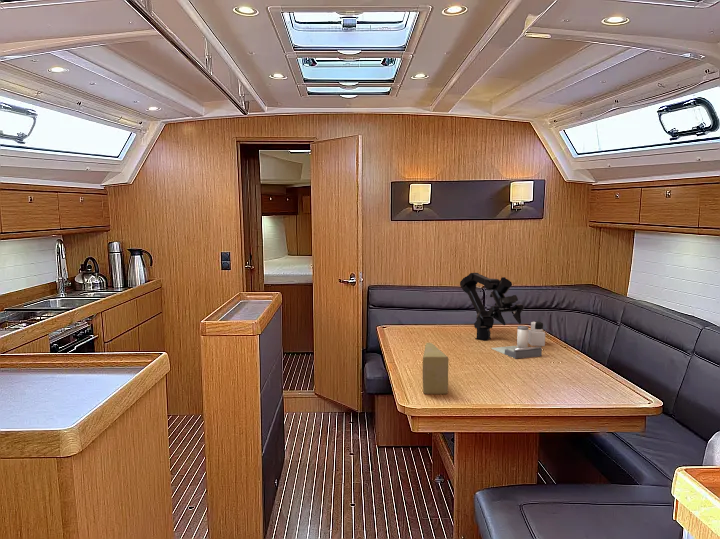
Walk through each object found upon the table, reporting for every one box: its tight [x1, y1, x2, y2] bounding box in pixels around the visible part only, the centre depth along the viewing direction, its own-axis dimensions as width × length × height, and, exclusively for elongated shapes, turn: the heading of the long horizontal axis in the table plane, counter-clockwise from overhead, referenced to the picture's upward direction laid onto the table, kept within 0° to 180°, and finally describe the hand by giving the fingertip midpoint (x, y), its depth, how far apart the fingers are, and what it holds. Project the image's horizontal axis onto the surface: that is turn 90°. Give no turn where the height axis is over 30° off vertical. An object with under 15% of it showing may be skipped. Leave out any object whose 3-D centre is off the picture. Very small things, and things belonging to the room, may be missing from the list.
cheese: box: [422, 342, 450, 395], centre depth 195 cm, size 22×10×15 cm, turn 179°
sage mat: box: [490, 345, 517, 355], centre depth 248 cm, size 11×15×1 cm
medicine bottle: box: [528, 321, 546, 347], centre depth 259 cm, size 7×7×12 cm
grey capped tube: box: [516, 325, 529, 349], centre depth 238 cm, size 5×5×14 cm
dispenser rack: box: [504, 346, 543, 360], centre depth 238 cm, size 8×15×5 cm, turn 109°
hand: (512, 324), depth 245 cm, fingers open, 9 cm apart
